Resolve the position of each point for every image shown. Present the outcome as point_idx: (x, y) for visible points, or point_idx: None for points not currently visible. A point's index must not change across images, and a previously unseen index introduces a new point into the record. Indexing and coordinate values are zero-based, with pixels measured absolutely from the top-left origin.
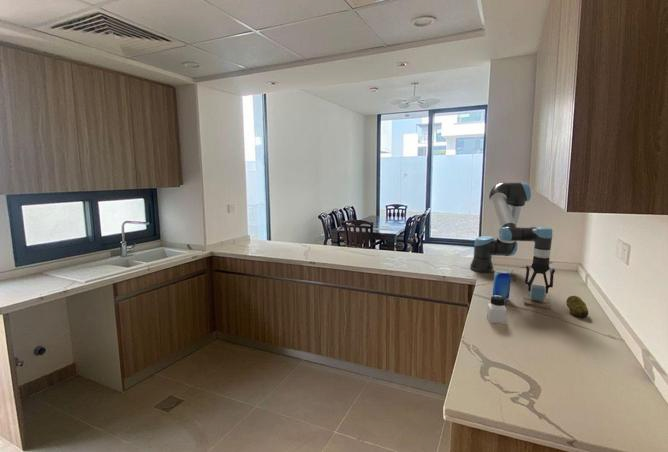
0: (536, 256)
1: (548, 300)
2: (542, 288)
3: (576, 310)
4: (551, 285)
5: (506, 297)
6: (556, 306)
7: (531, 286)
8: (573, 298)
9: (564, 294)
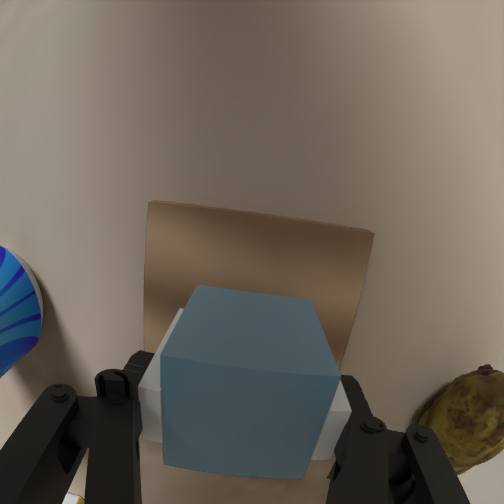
0: None
1: (362, 277)
2: (281, 470)
3: None
4: (397, 486)
5: (27, 352)
6: (386, 344)
7: (150, 438)
8: (473, 459)
9: (500, 54)
